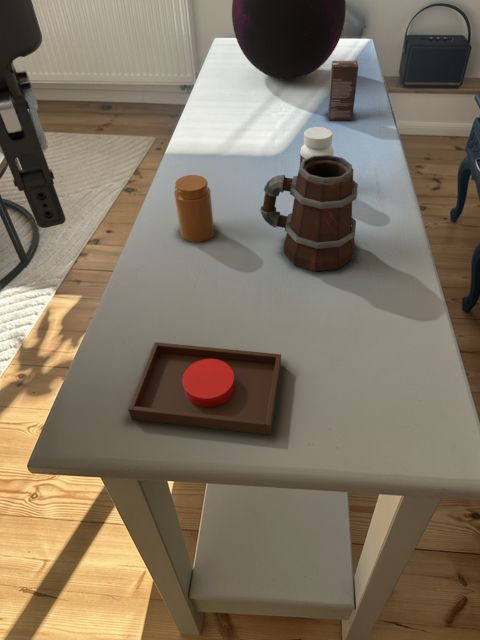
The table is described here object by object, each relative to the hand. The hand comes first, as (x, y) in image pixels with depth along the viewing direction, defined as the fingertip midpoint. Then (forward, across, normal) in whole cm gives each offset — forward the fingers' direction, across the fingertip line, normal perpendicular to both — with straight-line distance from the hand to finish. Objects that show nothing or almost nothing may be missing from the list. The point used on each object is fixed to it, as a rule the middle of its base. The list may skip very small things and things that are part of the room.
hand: (45, 198), depth 42 cm
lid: (+25, -5, -11) cm, 28 cm away
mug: (+28, +16, -36) cm, 48 cm away
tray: (+27, -6, -11) cm, 30 cm away
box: (+28, +61, -70) cm, 97 cm away
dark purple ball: (+29, +92, -71) cm, 120 cm away
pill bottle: (+28, +33, -47) cm, 64 cm away
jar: (+28, +29, -21) cm, 45 cm away
